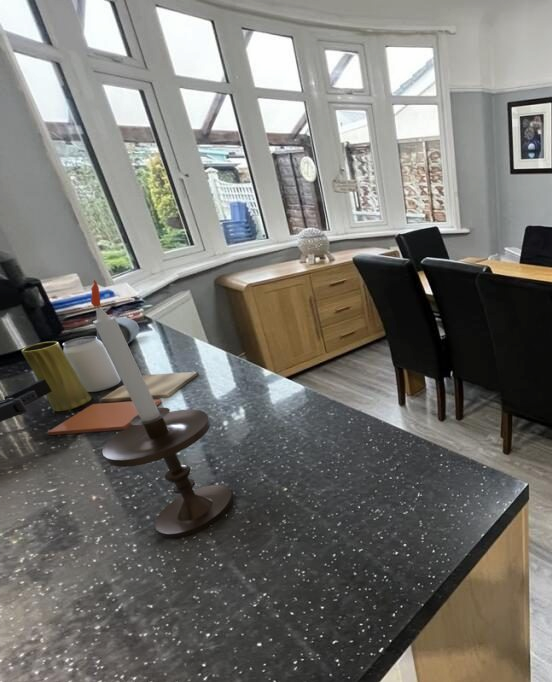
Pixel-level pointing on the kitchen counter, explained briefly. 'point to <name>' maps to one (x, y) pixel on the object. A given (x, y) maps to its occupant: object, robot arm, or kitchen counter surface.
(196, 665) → the kitchen counter surface
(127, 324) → the ceramic mug
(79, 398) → the vase
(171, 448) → the candlestick
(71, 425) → the terracotta mat
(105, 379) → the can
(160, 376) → the birch mat
